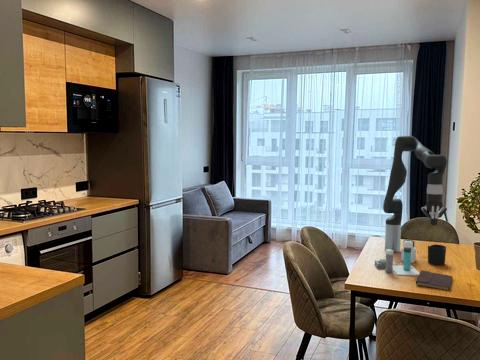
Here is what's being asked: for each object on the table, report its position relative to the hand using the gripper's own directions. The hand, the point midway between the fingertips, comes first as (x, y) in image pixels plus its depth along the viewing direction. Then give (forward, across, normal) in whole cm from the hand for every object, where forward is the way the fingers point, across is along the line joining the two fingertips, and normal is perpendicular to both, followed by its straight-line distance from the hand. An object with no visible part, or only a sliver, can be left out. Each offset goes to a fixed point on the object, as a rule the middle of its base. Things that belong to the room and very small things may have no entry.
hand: (433, 225), depth 225 cm
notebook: (+25, +5, +18) cm, 31 cm away
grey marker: (+25, +23, +3) cm, 34 cm away
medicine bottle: (+25, +6, -21) cm, 33 cm away
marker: (+24, +13, 0) cm, 28 cm away
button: (+23, +24, -7) cm, 34 cm away
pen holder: (+25, -8, -16) cm, 31 cm away
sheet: (+25, +14, 0) cm, 29 cm away
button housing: (+25, +24, -7) cm, 35 cm away
